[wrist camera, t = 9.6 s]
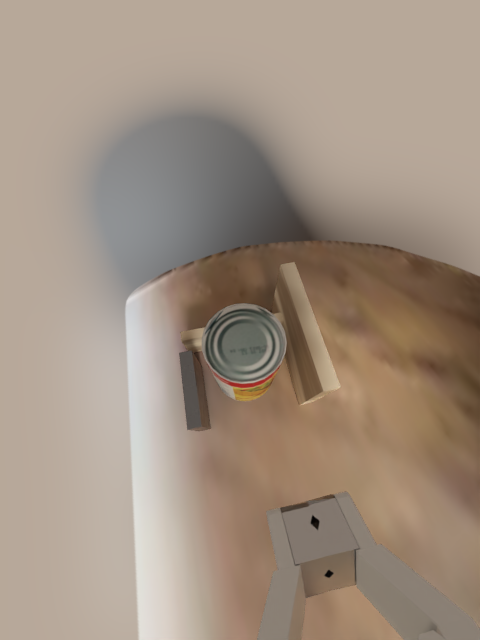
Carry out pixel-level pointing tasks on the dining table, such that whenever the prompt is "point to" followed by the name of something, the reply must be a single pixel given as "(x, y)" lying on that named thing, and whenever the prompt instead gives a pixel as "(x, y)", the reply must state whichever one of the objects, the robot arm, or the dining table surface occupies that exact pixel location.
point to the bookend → (194, 392)
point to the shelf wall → (294, 339)
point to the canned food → (244, 349)
